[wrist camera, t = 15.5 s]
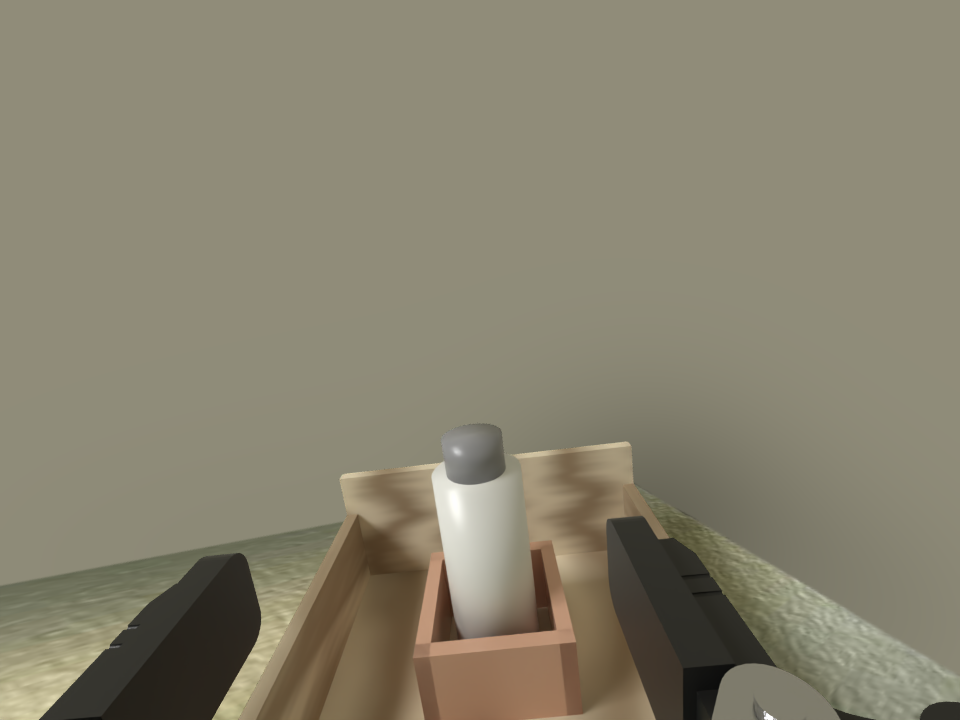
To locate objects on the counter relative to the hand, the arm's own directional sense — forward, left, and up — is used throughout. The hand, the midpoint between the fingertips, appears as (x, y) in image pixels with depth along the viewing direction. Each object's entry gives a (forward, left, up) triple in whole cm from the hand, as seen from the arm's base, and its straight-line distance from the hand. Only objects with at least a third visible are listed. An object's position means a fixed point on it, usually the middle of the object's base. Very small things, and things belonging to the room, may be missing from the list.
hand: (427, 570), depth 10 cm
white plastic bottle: (0, +13, -16) cm, 21 cm away
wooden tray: (0, +14, -17) cm, 22 cm away
